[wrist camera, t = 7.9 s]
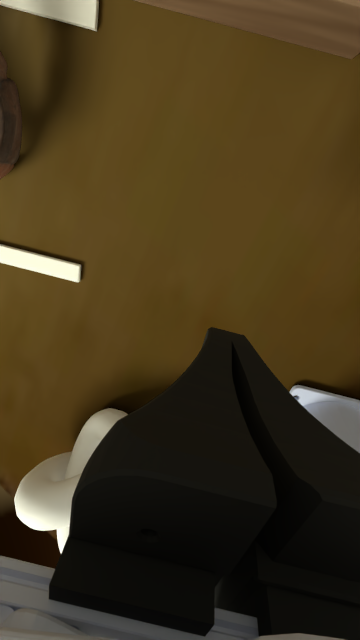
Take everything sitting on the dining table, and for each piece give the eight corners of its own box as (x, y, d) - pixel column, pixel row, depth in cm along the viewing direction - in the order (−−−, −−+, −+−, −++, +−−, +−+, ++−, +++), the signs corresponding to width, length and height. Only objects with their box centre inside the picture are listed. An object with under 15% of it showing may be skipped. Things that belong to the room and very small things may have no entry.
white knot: (64, 474, 32) (15, 577, 24) (41, 387, 26) (-34, 486, 18) (169, 486, 31) (153, 598, 23) (169, 399, 25) (148, 508, 17)
